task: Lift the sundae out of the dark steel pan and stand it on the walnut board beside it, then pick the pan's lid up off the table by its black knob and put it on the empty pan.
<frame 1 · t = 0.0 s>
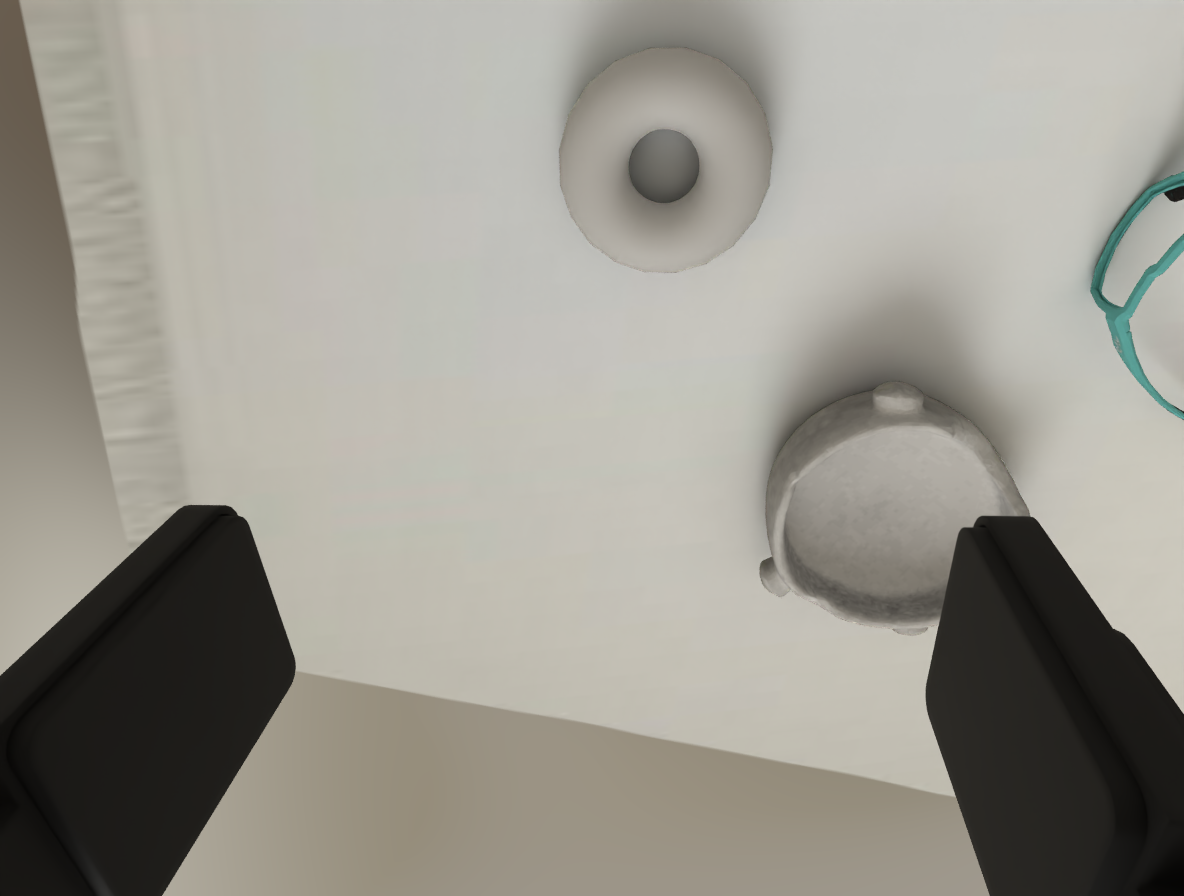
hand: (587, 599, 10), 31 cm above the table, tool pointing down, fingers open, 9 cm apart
dish: (874, 491, 44), on the table
donut: (665, 160, 37), on the table
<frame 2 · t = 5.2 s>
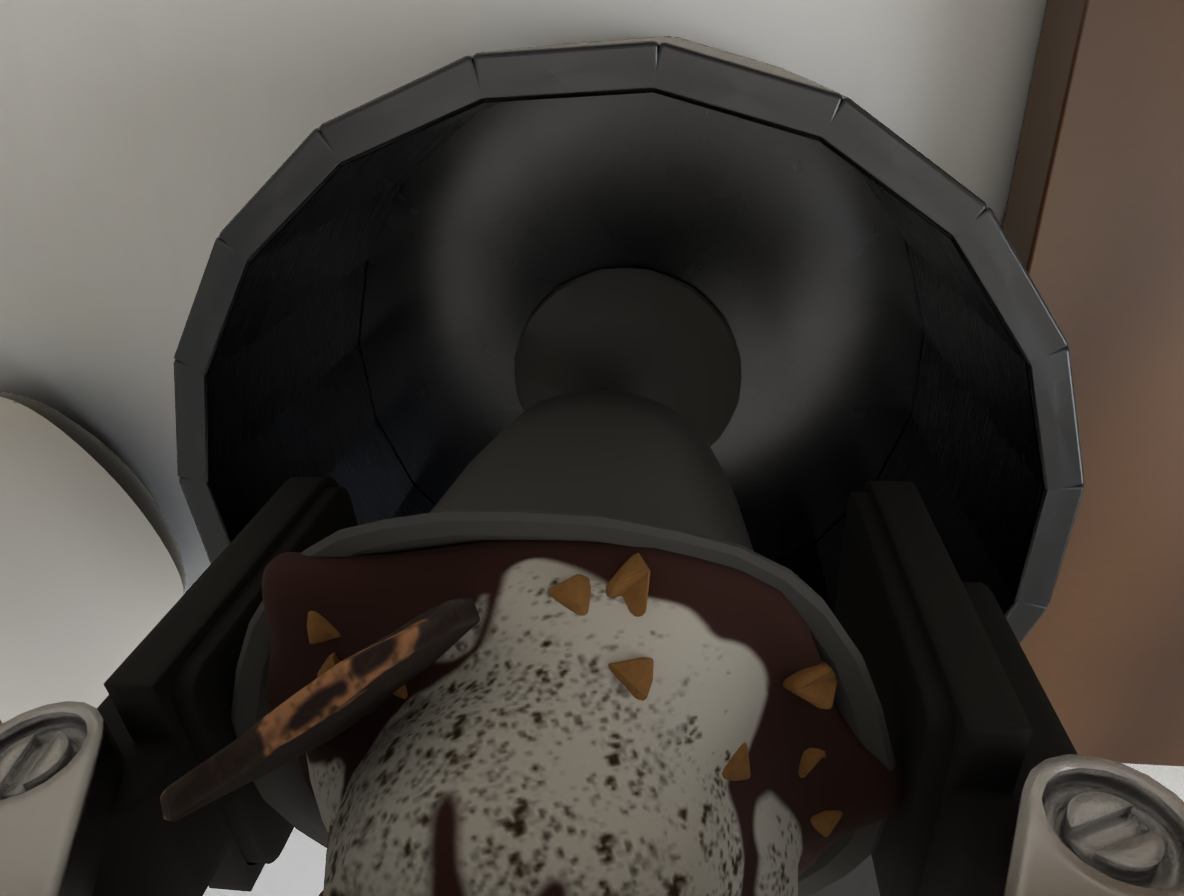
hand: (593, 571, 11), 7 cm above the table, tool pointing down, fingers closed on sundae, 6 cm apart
pan: (630, 372, 17), on the table
lid: (727, 850, 23), point 1 cm above the table
spread jar: (74, 566, 22), on the table
sundae: (629, 374, 17), resting on pan, touching gripper
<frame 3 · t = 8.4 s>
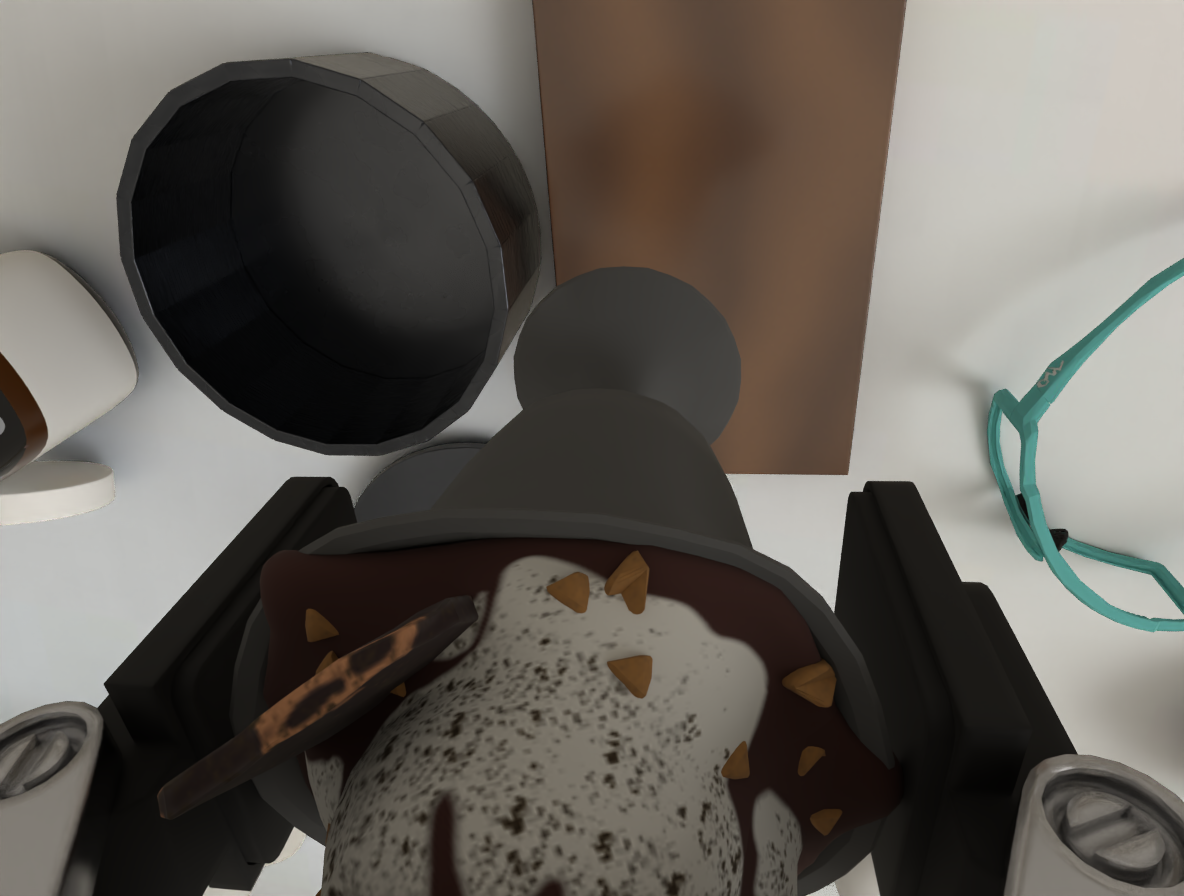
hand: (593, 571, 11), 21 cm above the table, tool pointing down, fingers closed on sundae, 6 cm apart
pan: (381, 237, 30), on the table
lid: (488, 567, 37), point 1 cm above the table
board: (709, 226, 28), on the table
sunglasses: (1176, 414, 30), on the table
spread jar: (72, 376, 35), on the table
donut: (914, 839, 44), on the table
sundae: (629, 373, 16), point 14 cm above the table, touching gripper
when the fingers open (8 cm above the table, at t = 11.9 s): sundae stays where it is, resting on board.
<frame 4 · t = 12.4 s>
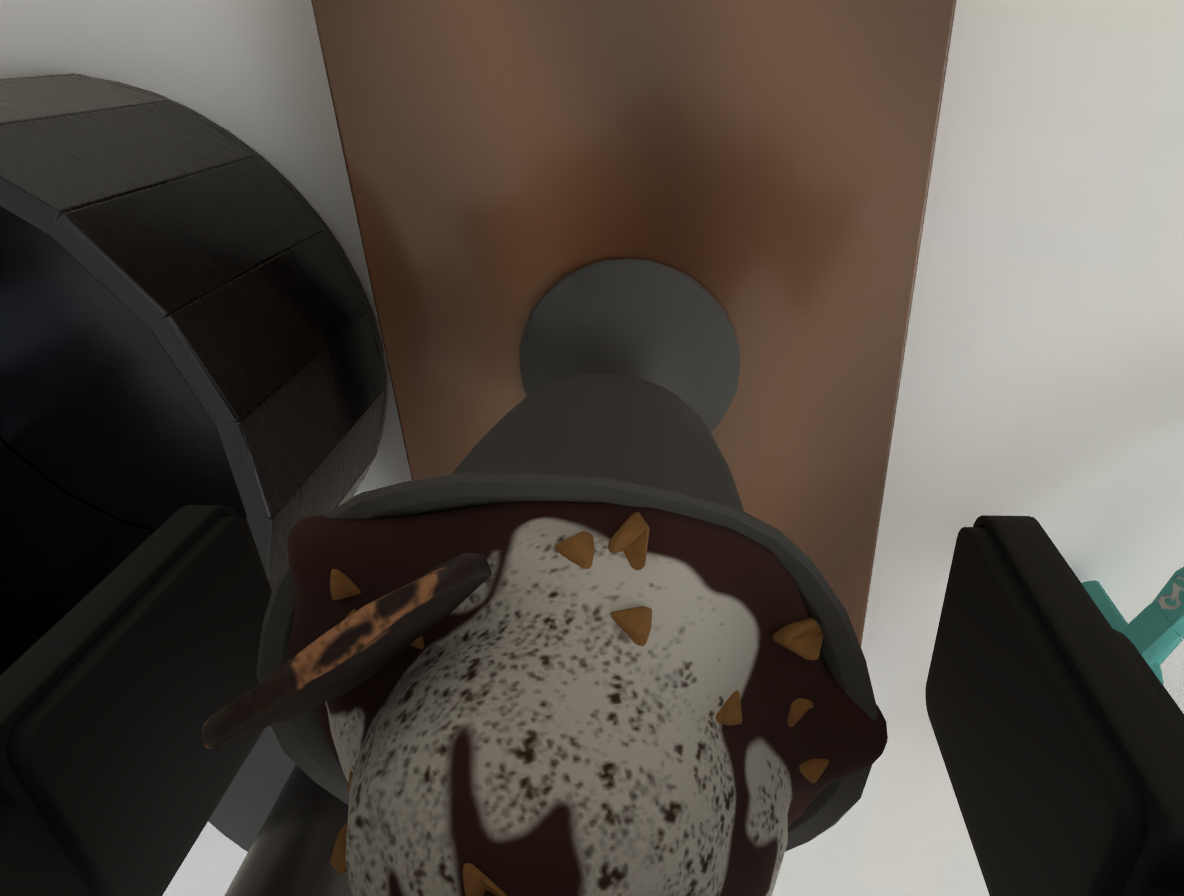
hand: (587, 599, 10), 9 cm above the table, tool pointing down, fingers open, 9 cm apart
pan: (148, 348, 20), on the table
lid: (358, 773, 27), point 1 cm above the table
board: (638, 340, 18), on the table
sundae: (631, 363, 17), point 1 cm above the table, touching board
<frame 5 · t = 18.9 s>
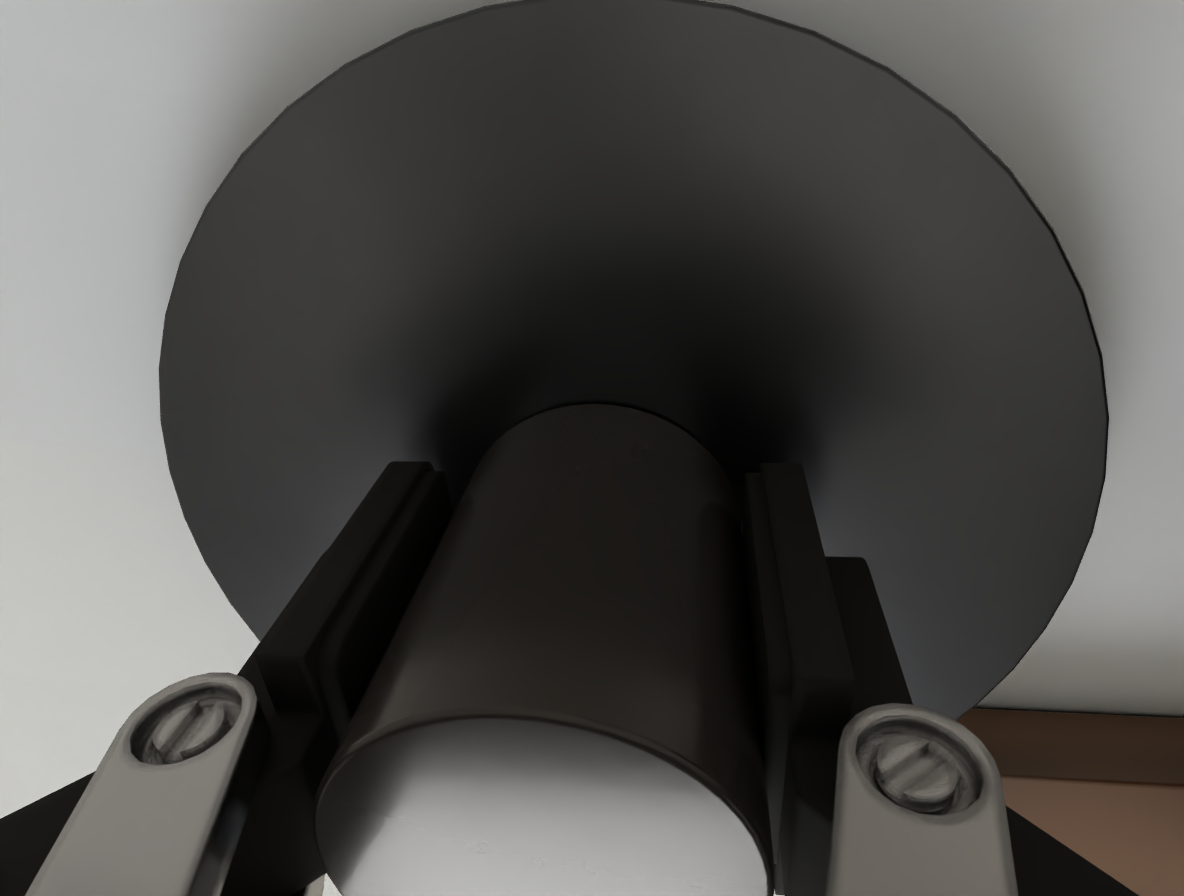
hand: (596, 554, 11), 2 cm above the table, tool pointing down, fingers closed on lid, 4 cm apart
lid: (605, 507, 12), point 1 cm above the table, touching gripper
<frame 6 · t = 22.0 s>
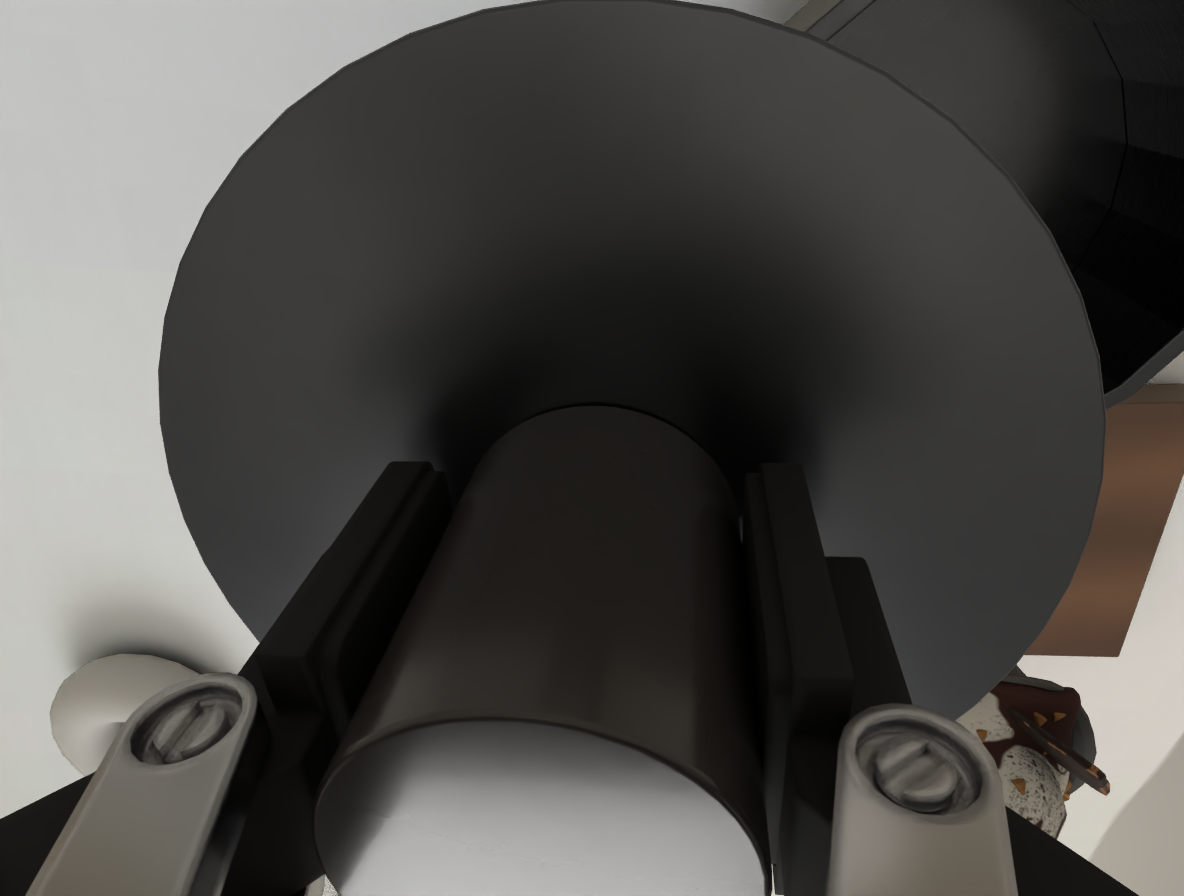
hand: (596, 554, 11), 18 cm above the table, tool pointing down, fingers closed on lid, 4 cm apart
pan: (912, 186, 24), on the table
lid: (603, 508, 12), point 16 cm above the table, touching gripper
board: (871, 519, 30), on the table
donut: (171, 704, 41), on the table
sundae: (876, 537, 29), point 1 cm above the table, touching board
when the fingers open (8 cm above the table, at t = 25.5 s): lid stays where it is, resting on pan.
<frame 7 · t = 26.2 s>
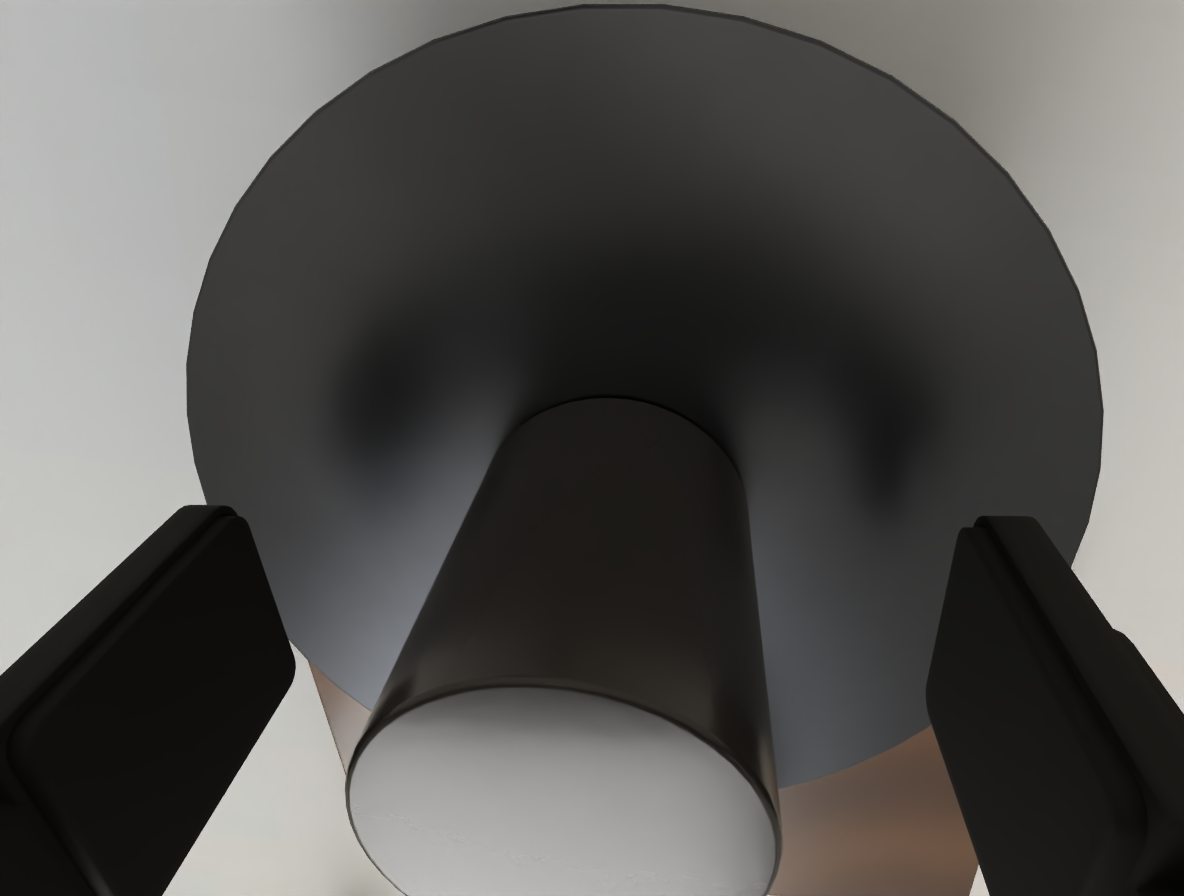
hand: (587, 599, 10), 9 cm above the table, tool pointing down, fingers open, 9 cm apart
lid: (615, 498, 12), point 6 cm above the table, touching pan
board: (651, 732, 24), on the table
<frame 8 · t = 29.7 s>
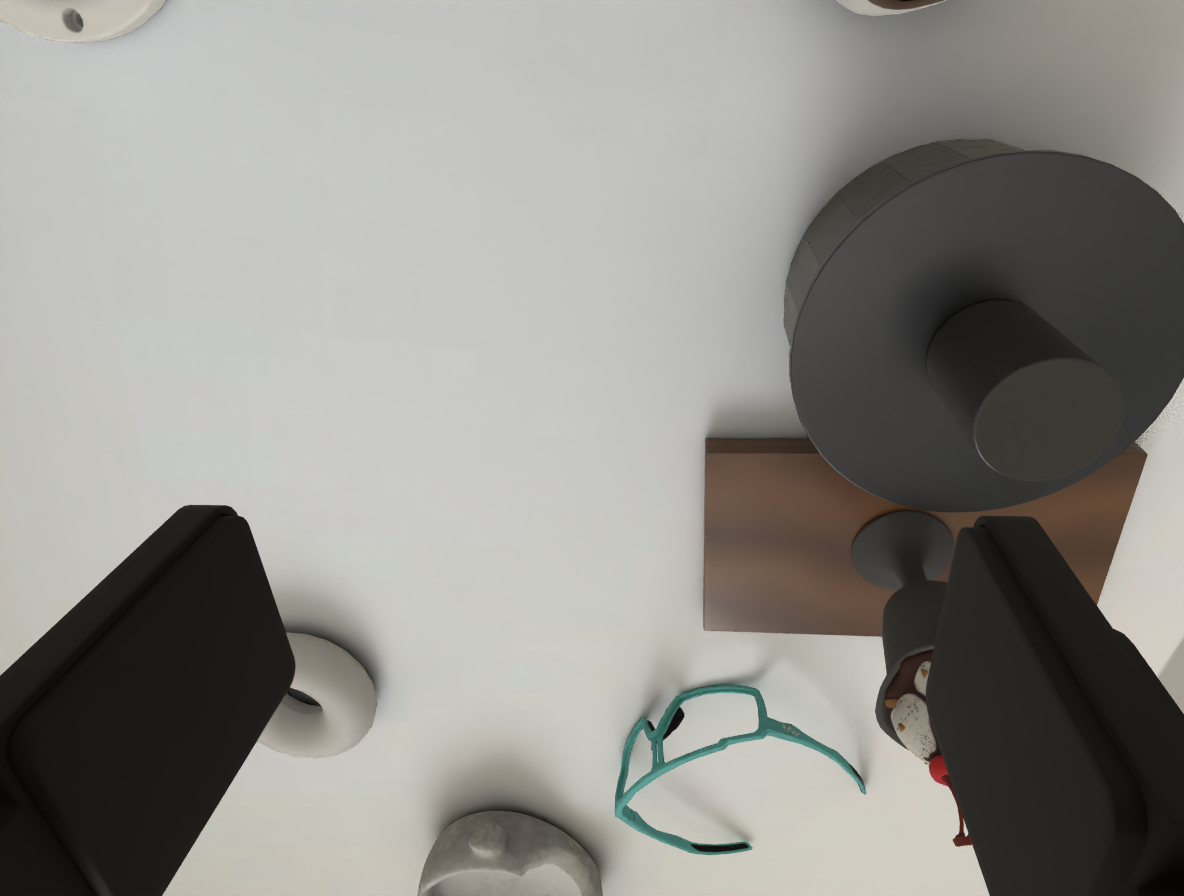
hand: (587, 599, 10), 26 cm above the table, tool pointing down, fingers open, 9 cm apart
pan: (933, 295, 33), on the table
lid: (981, 349, 28), point 6 cm above the table, touching pan
board: (895, 534, 40), on the table
sunglasses: (732, 759, 50), on the table
dish: (518, 860, 58), on the table
donut: (313, 675, 51), on the table
sundae: (900, 548, 38), point 1 cm above the table, touching board
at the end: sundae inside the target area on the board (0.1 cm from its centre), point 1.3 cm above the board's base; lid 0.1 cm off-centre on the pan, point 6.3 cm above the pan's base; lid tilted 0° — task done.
